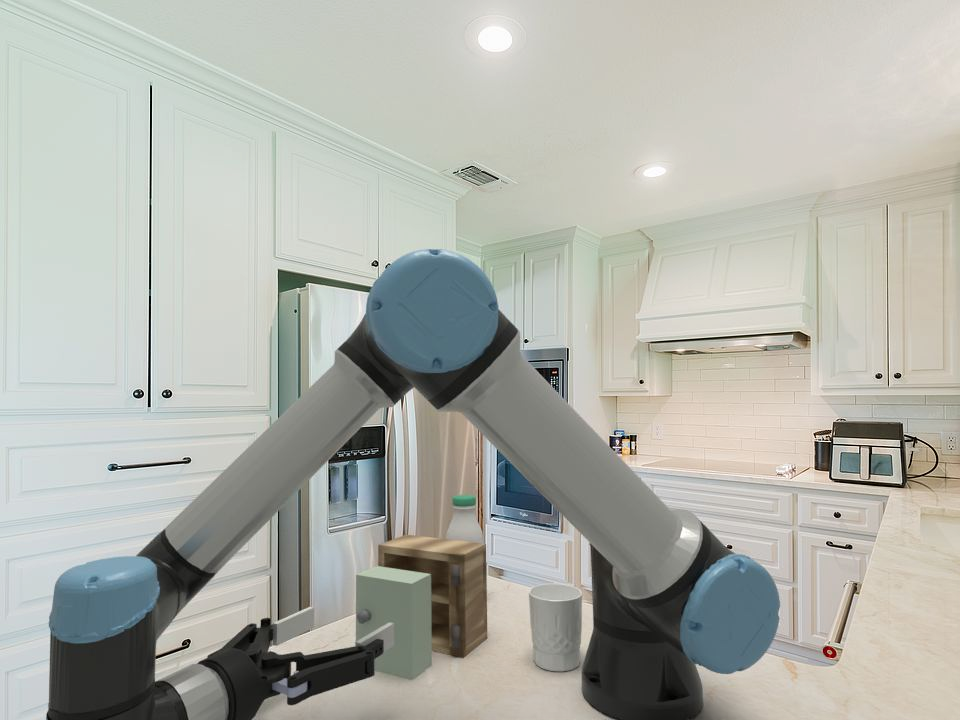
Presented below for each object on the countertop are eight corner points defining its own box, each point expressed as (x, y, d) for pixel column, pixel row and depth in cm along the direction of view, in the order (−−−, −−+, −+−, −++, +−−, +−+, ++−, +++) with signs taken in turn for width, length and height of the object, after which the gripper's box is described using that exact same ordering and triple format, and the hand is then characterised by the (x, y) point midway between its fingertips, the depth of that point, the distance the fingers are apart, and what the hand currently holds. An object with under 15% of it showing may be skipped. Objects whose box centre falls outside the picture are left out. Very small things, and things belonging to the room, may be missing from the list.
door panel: (431, 665, 81) (431, 574, 83) (407, 684, 76) (406, 586, 77) (377, 652, 86) (377, 566, 87) (350, 669, 81) (350, 576, 82)
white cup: (563, 679, 77) (561, 604, 77) (519, 662, 82) (517, 592, 83) (594, 660, 82) (592, 590, 83) (550, 645, 88) (549, 580, 88)
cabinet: (487, 637, 91) (486, 543, 92) (460, 659, 83) (459, 556, 84) (406, 621, 98) (406, 534, 99) (375, 640, 90) (375, 545, 92)
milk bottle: (437, 602, 108) (436, 497, 109) (461, 591, 114) (460, 492, 116) (469, 610, 103) (468, 500, 105) (492, 598, 110) (491, 494, 111)
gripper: (130, 711, 61) (282, 638, 79) (297, 778, 49) (429, 673, 68) (132, 640, 61) (282, 583, 80) (298, 689, 50) (428, 610, 68)
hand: (350, 625), depth 74 cm, fingers open, 13 cm apart
